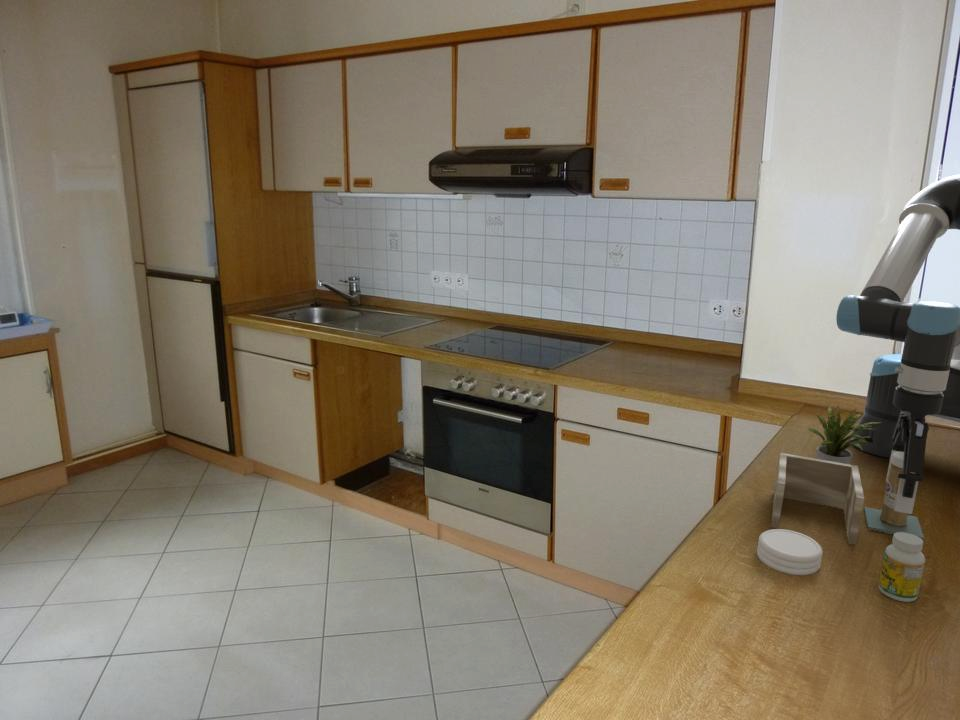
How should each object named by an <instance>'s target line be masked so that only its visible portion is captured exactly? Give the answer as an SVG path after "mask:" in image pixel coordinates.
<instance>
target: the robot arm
mask: <svg viewBox="0 0 960 720" xmlns="http://www.w3.org/2000/svg"><path fill="white" fill-rule="evenodd" d="M898 224H899V226H898V228H897V230H896V232H895V233H894V235H893V236H892V238H891V241H890V242H889V244H888V245H887V248H886V249H885V251H884V253H883V254H882V256H881V257H880V259H879V261H878V263H877V265H876V266H875V268H874V270H873V272H872V273H871V276H870V277H869V278H868V281H867V282H866V284H865V286H864V287H863V288H862V289H863V290H862V291H861V292H860V294H859V295H857V294H854V295H852V294H851V295H850V294H847V295H846V296H844V297H842V299H841V300H840V302H839V305H838V307H837V311H836V317H835V318H836V326H837V327H838V329H839V330H840V331H842V332H845V333H849V334H854V335H856V336H865V337H870V338H876V339H877V338H878V339H883V340H891V341H896V342H900V343H903V349H902V353H894V354H893V353H892V354H891V353H889V354H884V355H880V356H878V357H877V358H875V360H874V361H873V364H872V365H873V366H872V369H871V372H870V374H869V376H870V377H869V382H868V383H869V384H868V388H867V389H868V390H867V394H866V399H865V407H864V410H863V411H864V412H863V414H862V415H861V416H860V419H859V420H858V422H857V424H856V425H857V426H859V425H861V424H864V423H870V422H880V423H872V424H867V425H869V426H868V427H864V428H872V429H863V430H858V431H857V432H856V433H854V434H853V435H859V436H861V437H865V436H867V437H866V438H864V439H863V440H865V441H866V442H856V443H858V444H860V445H861V446H862V449H863V451H862V449H861V448H860V447H858V446H856V445H853V447H855V448H857V450H861V451H862V452H866V453H869V454H871V455H876V456H878V457H883V458H887V459H889V463H888V468H887V473H886V477H885V478H886V479H885V482H886V483H887V482H888V479H889V474H890V469H891V457H892V454H893V453H894V452H904V463H903V474H900V473H899V475H898V478H900V482H899V487H898V492H897V497H896V502H895V507H894V511H897V512H902V513H908V515H912V514H913V511H914V507H915V500H916V497H917V491H918V487H919V486H918V485H919V482H920V483H922V482H923V479H924V476H923V474H924V464H925V456H926V447H927V446H926V445H927V439H928V432H929V430H930V428H929V425H928V422H926V416H929V417H933V418H938V419H941V420H947V421H951V422H954V423H955V422H956V423H960V307H959V306H958V305H956V304H952V303H948V302H942V301H930V300H929V301H928V300H925V301H916V302H915V303H910V302H905V301H904V300H905V298H906V296H907V294H908V293H909V291H910V288H911V287H912V285H913V283H914V282H915V280H916V278H917V276H918V274H919V272H920V270H921V268H922V267H923V265H924V263H925V261H926V259H927V258H928V256H929V254H930V252H931V250H932V248H933V247H934V244H935V242H936V241H937V239H939V238H941V237H942V236H944V235H945V234H946V233H947V231H948V230H959V231H960V174H956V175H951V176H947V177H944V178H942V179H940V180H937V181H935V182H932V183H931V184H930V185H928V186H926V187H924V188H923V189H921V190H920V191H919V192H918V193H916V194H915V195H913V197H912V198H911V199H910V200H909V201H908V202H907V203H906V205H905V206H904V207H903V210H902V211H901V213H900V215H899V217H898ZM856 425H855V427H857V426H856ZM864 426H866V425H864ZM871 426H872V427H871ZM859 428H860V427H859ZM858 438H860V437H853V438H850V440H853V439H858ZM910 472H914V473H916V474H913V473H910Z"/></svg>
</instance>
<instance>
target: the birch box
mask: <svg viewBox="0 0 960 720" xmlns="http://www.w3.org/2000/svg"><path fill="white" fill-rule="evenodd" d="M777 466H778V467H777V473H776V479H775V486H774V492H773V503H772V514H771V528H772V527H773V528H772V529H777V528H778V529H779V528H780V527H779V525H780V520H781V519H780V518H781V513H782V507H783V500H784V499H787V500H788V499H789V500H794V501H799V502H804V503H810V504H814V503H815V505H819V504H822V505H821V506H824V505H826V506H825V507H829V506H831V507H830V508H835V507H837V508H836V509H840V508H843V509H842V510H843V515H844V514H845V516H844V522H846V524H845V530H846V529H847V531H846V537H848V539H847V544H849V543H851V544H850V545H854V546H855V545H856V544H857V540H858V533H859V528H860V524H861V519H862V512H863V509H864V502H865V496H864V490H863V487H862V481H861V476H860V471H859V466H858V465H856V464H855V465H854V464H844V463H838V462H832V461H826V460H820V459H817V458H813V457H806V456H802V455H796V454H789V453H784V452H780V453H779V460H778V465H777Z"/></svg>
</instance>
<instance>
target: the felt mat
mask: <svg viewBox="0 0 960 720" xmlns="http://www.w3.org/2000/svg"><path fill="white" fill-rule="evenodd" d="M863 511H865V512H864V516H865V517H866V518H865V517H864V518H865V523H866V522H867V523H866V528H867V527H868V528H867V530H868V529H871V530H870V531H872V530H874V531H873V532H877V531H879V533H882V532H884V533H883V534H889V535H892V534H893V535H894V533H896V532H905V533H910V534H913V535H915V536H917V537H919V538H921V539H922V540H923V542H924V541H925V536H924V533H923V531H922V527H921V524H920V521H919V519H918V516H916V515H915V516H914V515H911V514H908V517H907V524H906V525H904V526H894V525H890V524H887V523H885V522H884V521H882V520H881V519H880V515H881V512H882V509H877V508H873V507H867V506H863Z"/></svg>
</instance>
